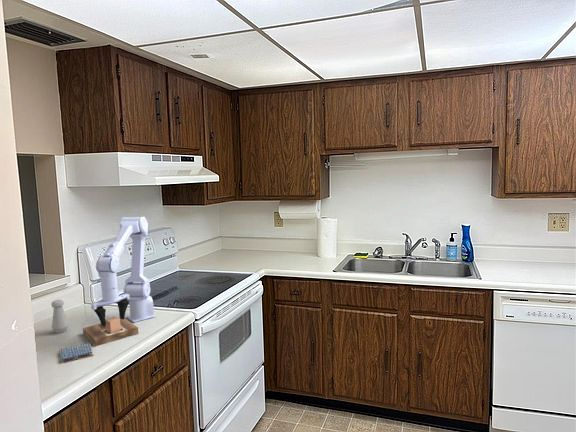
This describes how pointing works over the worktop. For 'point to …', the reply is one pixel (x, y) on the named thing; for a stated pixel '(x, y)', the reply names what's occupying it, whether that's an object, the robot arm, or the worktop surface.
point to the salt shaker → (59, 317)
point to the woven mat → (76, 353)
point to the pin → (112, 325)
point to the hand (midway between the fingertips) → (113, 321)
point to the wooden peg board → (101, 337)
